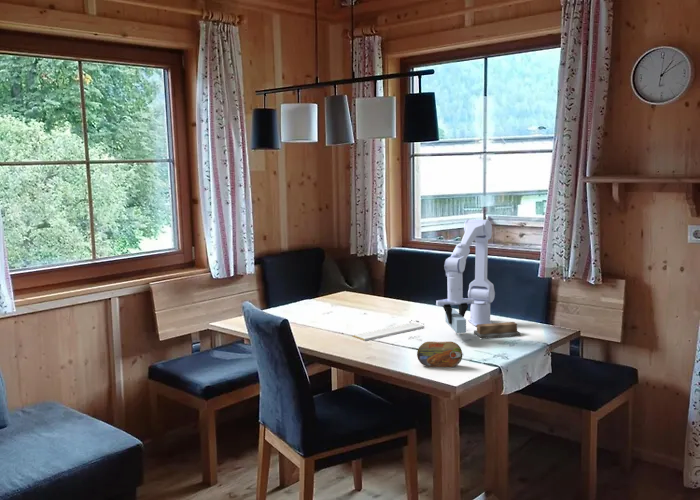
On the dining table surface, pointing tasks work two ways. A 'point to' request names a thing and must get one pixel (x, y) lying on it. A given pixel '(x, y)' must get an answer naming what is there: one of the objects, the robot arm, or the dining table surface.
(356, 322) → the dining table surface
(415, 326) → the baseboard
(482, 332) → the stand
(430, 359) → the tin
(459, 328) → the beam
